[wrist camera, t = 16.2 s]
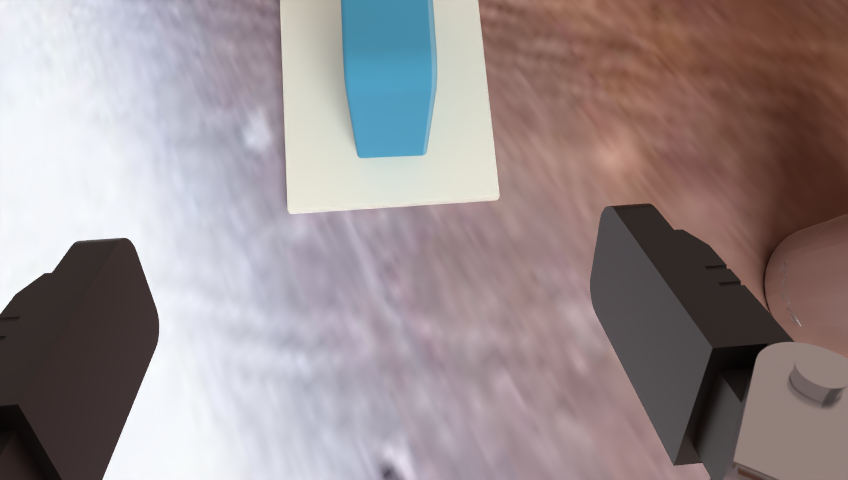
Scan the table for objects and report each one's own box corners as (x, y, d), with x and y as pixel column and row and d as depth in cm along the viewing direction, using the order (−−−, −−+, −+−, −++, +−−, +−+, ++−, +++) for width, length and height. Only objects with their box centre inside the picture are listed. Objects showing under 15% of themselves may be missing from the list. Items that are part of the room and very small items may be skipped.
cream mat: (471, -33, 44) (473, -42, 43) (497, 200, 41) (499, 196, 40) (281, -25, 43) (278, -35, 42) (290, 213, 40) (287, 210, 39)
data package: (351, 3, 42) (335, -136, 30) (415, 2, 42) (423, -137, 31) (358, 165, 40) (343, 81, 28) (426, 162, 40) (439, 78, 28)
